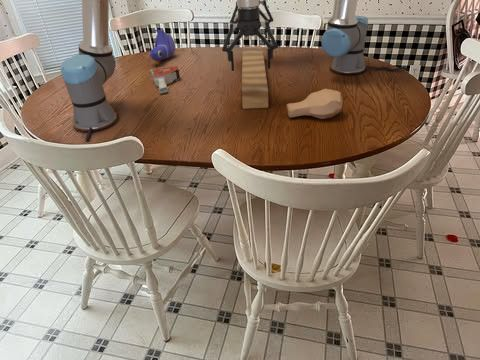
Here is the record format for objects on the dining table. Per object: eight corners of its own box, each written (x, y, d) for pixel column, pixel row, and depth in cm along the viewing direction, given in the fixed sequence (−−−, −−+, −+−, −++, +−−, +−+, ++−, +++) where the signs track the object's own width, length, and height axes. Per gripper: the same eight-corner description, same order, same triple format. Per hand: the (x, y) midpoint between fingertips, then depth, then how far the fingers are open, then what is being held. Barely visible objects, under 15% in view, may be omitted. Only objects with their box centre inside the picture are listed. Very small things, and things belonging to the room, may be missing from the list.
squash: (346, 119, 125) (347, 98, 118) (290, 129, 126) (288, 109, 120) (339, 102, 132) (339, 81, 126) (285, 111, 134) (283, 91, 128)
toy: (163, 61, 202) (144, 66, 180) (159, 29, 195) (138, 31, 173) (180, 60, 200) (162, 66, 177) (176, 28, 193) (156, 29, 171)
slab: (268, 107, 136) (268, 90, 132) (242, 108, 136) (241, 91, 132) (262, 59, 183) (262, 46, 179) (243, 60, 183) (242, 47, 179)
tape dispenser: (164, 98, 152) (192, 79, 164) (161, 86, 148) (191, 68, 161) (134, 89, 159) (163, 72, 172) (131, 78, 156) (161, 61, 168)
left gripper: (283, 2, 124) (283, 63, 137) (212, 7, 125) (218, 67, 138) (285, 7, 118) (284, 70, 131) (211, 11, 119) (217, 73, 132)
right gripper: (277, -15, 161) (277, 34, 173) (223, -12, 162) (226, 37, 174) (279, -12, 155) (278, 39, 167) (222, -9, 156) (225, 41, 168)
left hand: (250, 68), depth 134 cm, fingers open, 13 cm apart
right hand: (252, 38), depth 171 cm, fingers open, 13 cm apart
